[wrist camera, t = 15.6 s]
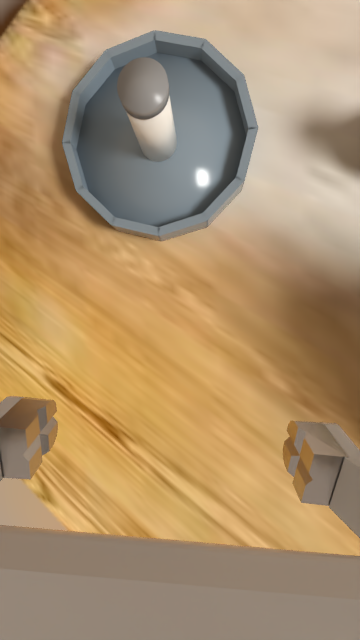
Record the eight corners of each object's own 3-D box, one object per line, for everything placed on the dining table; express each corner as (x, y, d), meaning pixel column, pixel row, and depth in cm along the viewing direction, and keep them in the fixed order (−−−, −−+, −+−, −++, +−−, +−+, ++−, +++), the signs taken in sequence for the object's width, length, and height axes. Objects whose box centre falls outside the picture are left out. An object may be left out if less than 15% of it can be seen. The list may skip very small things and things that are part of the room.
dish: (59, 217, 35) (48, 210, 32) (96, 40, 33) (87, 18, 30) (224, 255, 33) (225, 252, 31) (272, 71, 31) (277, 51, 29)
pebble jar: (136, 158, 32) (111, 106, 24) (144, 119, 32) (123, 53, 24) (172, 166, 32) (161, 116, 24) (181, 127, 32) (173, 62, 23)
